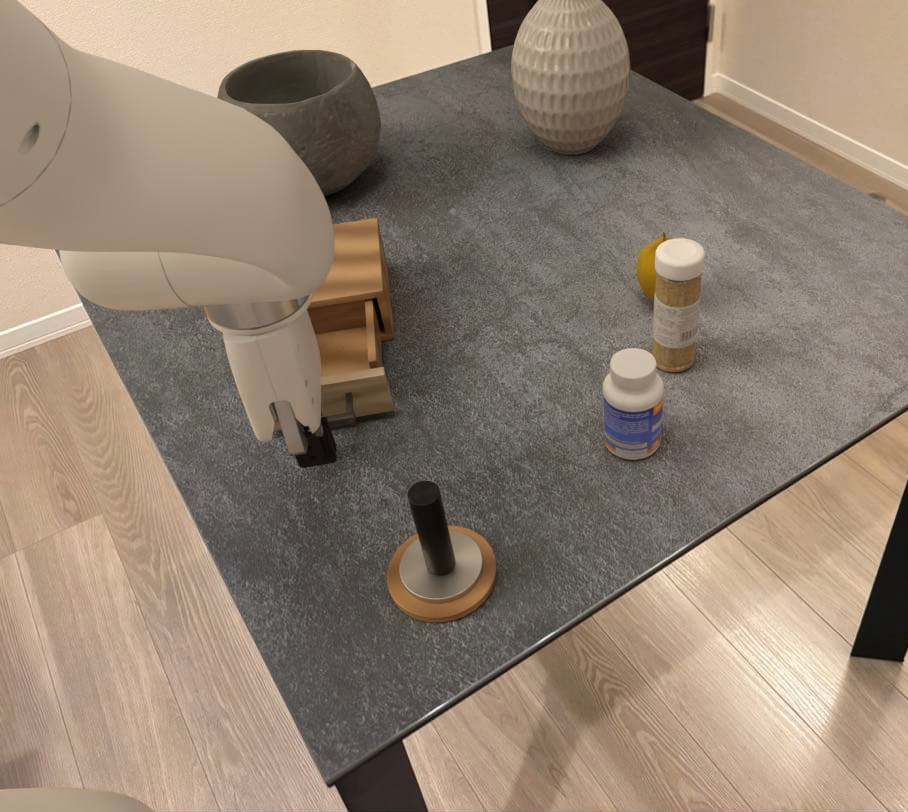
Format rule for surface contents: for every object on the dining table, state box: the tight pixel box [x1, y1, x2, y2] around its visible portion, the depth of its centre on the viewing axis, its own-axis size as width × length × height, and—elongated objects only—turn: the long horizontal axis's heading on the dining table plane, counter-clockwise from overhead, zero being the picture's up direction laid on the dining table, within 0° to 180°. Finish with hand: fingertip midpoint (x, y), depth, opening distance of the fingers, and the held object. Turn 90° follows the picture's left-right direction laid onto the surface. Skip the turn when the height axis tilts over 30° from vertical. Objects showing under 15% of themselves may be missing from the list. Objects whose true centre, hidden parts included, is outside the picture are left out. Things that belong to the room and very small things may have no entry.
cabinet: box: [307, 217, 395, 342], centre depth 93 cm, size 15×14×7 cm
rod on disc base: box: [400, 480, 483, 603], centre depth 64 cm, size 7×7×10 cm
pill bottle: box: [602, 347, 665, 461], centre depth 74 cm, size 5×5×10 cm
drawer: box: [273, 298, 395, 432], centre depth 82 cm, size 18×12×5 cm
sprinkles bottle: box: [651, 237, 706, 373], centre depth 81 cm, size 5×5×14 cm
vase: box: [510, 0, 631, 156], centre depth 112 cm, size 16×16×22 cm
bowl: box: [216, 49, 382, 197], centre depth 112 cm, size 21×21×15 cm
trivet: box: [386, 524, 498, 624], centre depth 68 cm, size 9×9×1 cm
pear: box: [636, 231, 674, 302], centre depth 90 cm, size 6×6×8 cm
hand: (318, 458), depth 71 cm, fingers closed
